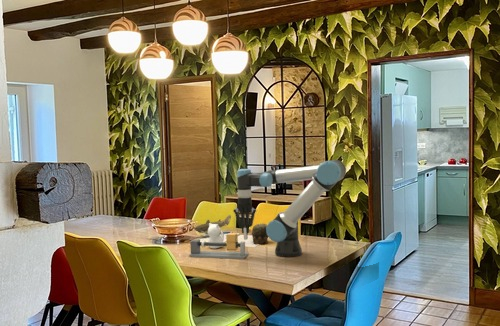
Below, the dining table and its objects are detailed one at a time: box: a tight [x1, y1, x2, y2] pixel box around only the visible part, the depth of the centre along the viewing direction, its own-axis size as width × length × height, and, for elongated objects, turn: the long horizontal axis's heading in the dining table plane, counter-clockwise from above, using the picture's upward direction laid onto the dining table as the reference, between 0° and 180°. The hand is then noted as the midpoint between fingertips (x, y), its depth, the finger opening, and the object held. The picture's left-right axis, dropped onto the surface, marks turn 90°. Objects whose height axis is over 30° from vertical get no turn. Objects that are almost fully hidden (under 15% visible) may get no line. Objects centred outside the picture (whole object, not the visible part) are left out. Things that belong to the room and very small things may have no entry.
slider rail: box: [188, 238, 249, 260], centre depth 284 cm, size 32×10×8 cm, turn 75°
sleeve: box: [226, 232, 239, 251], centre depth 281 cm, size 5×5×9 cm
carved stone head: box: [251, 223, 269, 245], centre depth 313 cm, size 11×11×12 cm
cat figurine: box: [207, 222, 225, 249], centre depth 305 cm, size 9×12×15 cm
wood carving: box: [193, 214, 232, 237], centre depth 343 cm, size 9×35×11 cm, turn 139°
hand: (245, 239), depth 279 cm, fingers closed
